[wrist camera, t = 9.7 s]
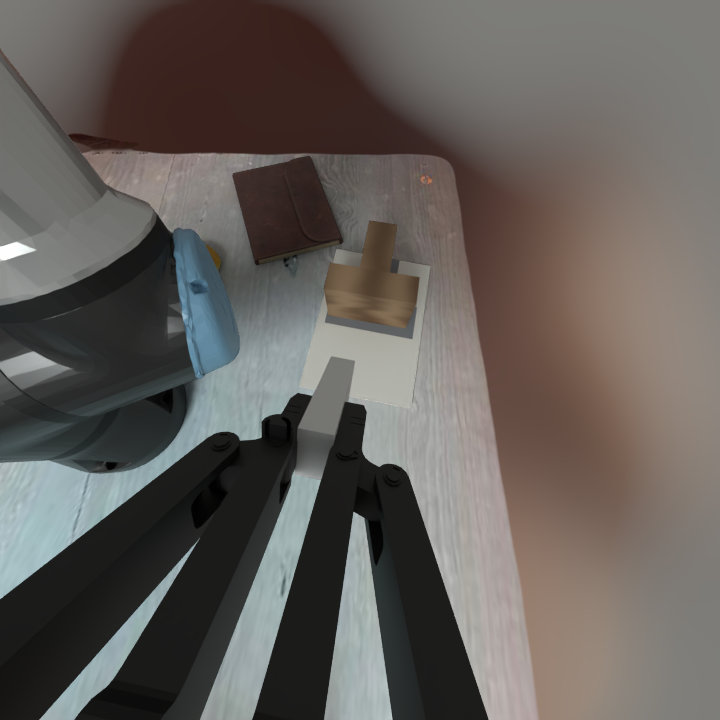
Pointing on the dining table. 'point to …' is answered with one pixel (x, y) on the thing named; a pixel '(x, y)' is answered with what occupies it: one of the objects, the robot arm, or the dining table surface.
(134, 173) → the dining table surface
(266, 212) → the notebook
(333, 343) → the mat
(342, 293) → the t block
